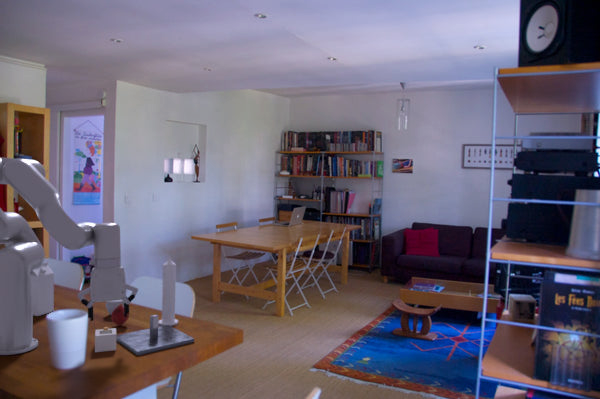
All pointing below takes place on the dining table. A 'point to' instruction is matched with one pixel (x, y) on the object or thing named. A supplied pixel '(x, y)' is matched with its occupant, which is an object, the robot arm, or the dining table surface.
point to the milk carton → (42, 289)
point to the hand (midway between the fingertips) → (109, 317)
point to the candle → (168, 294)
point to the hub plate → (153, 338)
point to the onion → (119, 315)
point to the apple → (113, 305)
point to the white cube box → (105, 339)
